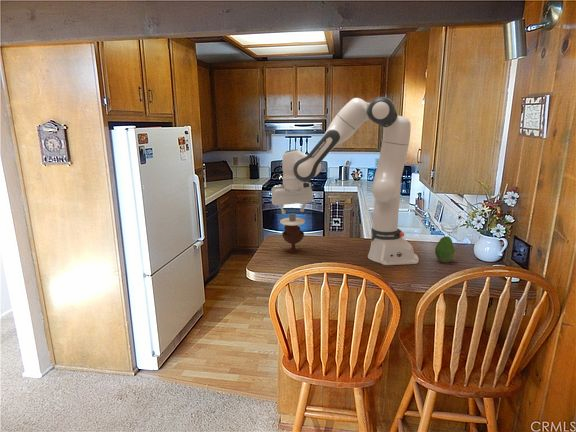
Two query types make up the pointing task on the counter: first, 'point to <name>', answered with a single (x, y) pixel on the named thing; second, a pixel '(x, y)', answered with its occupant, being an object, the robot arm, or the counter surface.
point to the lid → (292, 220)
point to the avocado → (444, 249)
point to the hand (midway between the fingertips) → (292, 212)
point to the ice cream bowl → (292, 236)
